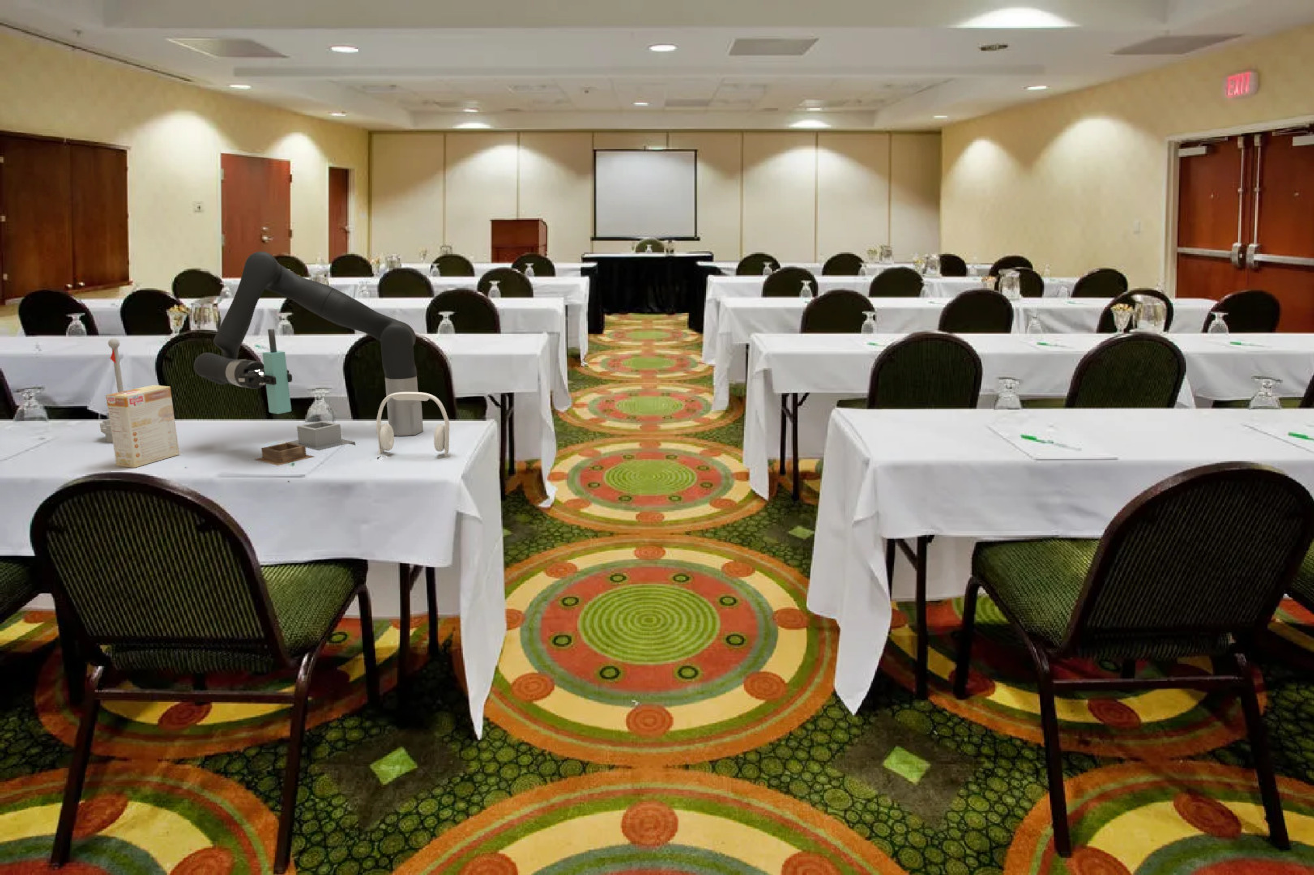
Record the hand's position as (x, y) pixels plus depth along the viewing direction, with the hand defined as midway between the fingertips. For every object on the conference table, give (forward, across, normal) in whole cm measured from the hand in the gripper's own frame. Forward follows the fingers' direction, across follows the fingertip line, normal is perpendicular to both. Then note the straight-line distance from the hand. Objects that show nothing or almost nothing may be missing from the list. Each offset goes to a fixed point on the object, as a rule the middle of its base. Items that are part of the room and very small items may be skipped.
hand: (282, 379), depth 251 cm
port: (-11, +16, +23) cm, 30 cm away
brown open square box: (-3, 0, +23) cm, 23 cm away
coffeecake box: (-35, -21, +23) cm, 47 cm away
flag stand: (-67, -11, +23) cm, 72 cm away
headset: (+21, +24, +23) cm, 40 cm away
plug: (-3, 0, +9) cm, 9 cm away
